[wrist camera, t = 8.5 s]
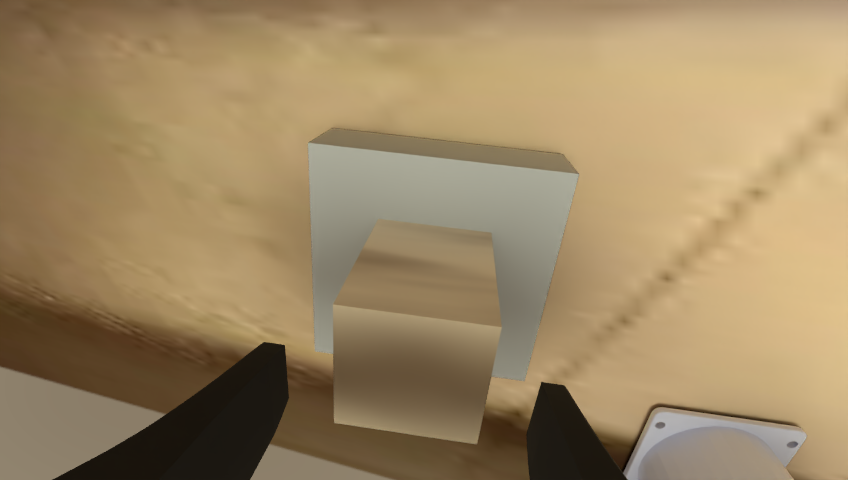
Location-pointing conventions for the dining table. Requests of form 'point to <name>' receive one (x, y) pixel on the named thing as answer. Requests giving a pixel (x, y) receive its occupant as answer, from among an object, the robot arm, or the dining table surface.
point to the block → (417, 332)
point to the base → (441, 217)
